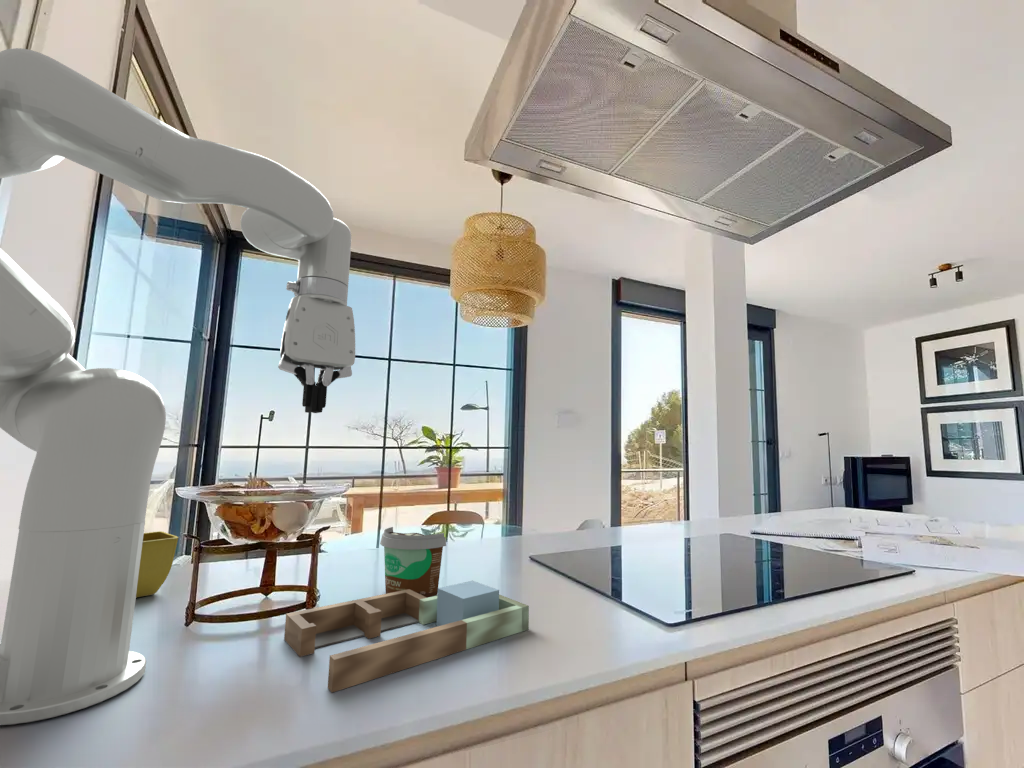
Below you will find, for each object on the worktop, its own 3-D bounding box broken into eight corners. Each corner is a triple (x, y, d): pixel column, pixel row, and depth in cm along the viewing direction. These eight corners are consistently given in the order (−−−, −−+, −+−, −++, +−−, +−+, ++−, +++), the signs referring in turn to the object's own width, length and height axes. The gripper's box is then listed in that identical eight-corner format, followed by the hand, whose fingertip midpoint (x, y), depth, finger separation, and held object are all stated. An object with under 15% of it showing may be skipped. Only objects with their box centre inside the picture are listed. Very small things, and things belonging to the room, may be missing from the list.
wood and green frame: (331, 692, 45) (334, 659, 46) (284, 639, 58) (286, 613, 58) (528, 629, 62) (528, 605, 63) (458, 598, 75) (459, 579, 75)
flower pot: (102, 609, 68) (110, 545, 69) (87, 597, 73) (95, 537, 74) (173, 594, 75) (179, 536, 76) (155, 584, 80) (161, 530, 81)
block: (462, 640, 59) (463, 598, 59) (436, 626, 63) (437, 588, 64) (498, 628, 63) (499, 589, 63) (471, 616, 67) (472, 580, 68)
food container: (361, 594, 76) (364, 531, 78) (387, 585, 82) (390, 526, 83) (420, 607, 71) (423, 539, 72) (444, 596, 76) (446, 533, 77)
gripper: (277, 278, 66) (265, 407, 63) (377, 301, 75) (370, 414, 73) (264, 291, 71) (253, 410, 69) (358, 311, 81) (351, 416, 78)
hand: (313, 412), depth 71 cm, fingers closed
